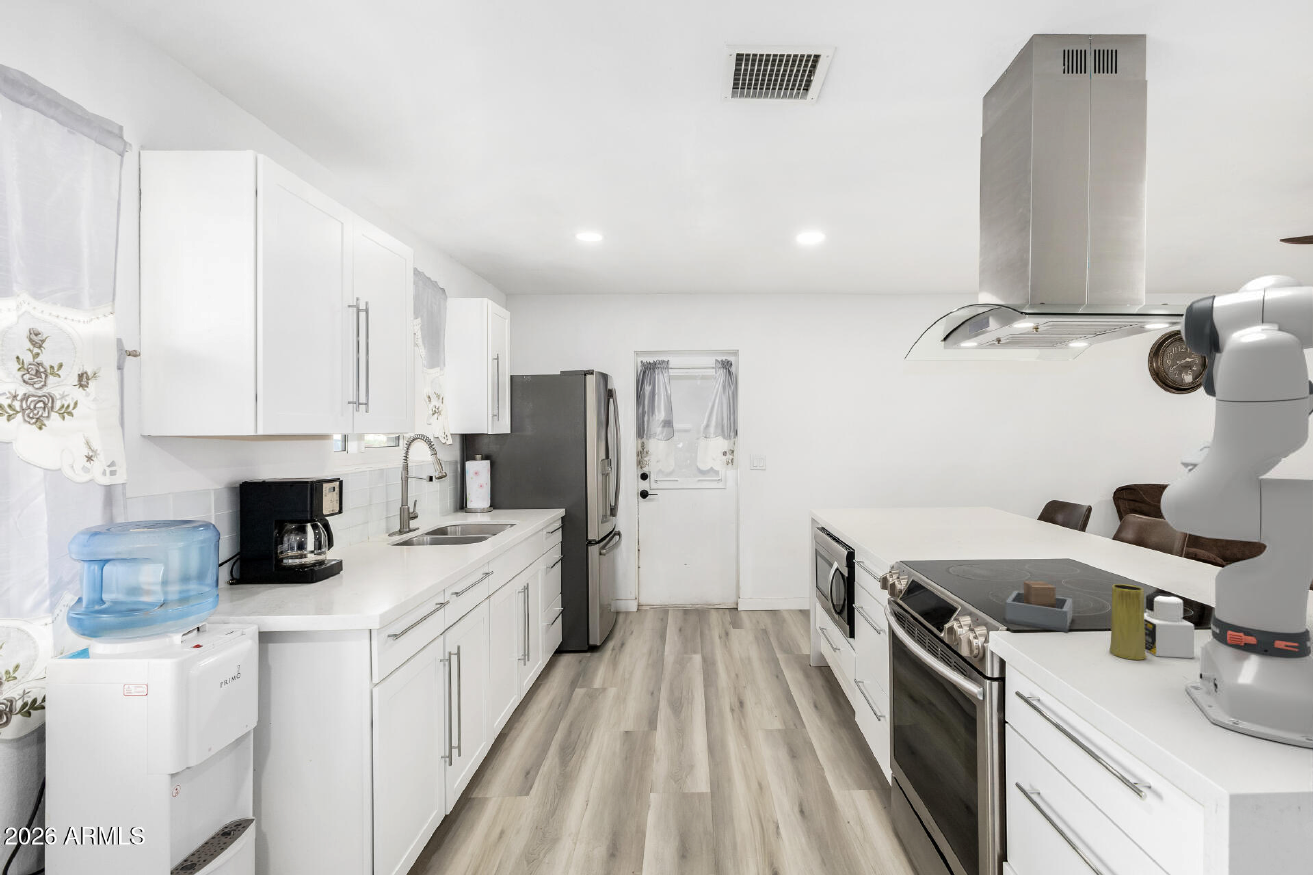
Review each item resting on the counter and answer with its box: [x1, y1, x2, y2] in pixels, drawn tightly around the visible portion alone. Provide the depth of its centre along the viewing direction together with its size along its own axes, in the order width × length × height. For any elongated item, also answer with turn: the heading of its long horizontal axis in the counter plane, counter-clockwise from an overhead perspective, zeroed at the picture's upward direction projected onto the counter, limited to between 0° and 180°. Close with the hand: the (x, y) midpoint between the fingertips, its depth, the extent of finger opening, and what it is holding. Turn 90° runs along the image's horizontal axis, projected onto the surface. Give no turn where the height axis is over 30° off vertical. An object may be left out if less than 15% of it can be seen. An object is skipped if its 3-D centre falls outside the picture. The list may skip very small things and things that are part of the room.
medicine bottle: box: [1144, 592, 1195, 659], centre depth 128 cm, size 7×7×12 cm
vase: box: [1109, 583, 1147, 661], centre depth 126 cm, size 6×6×14 cm
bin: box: [1005, 590, 1074, 633], centre depth 149 cm, size 13×13×5 cm
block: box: [1023, 581, 1056, 608], centre depth 149 cm, size 5×5×8 cm
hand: (1199, 484), depth 137 cm, fingers open, 8 cm apart
